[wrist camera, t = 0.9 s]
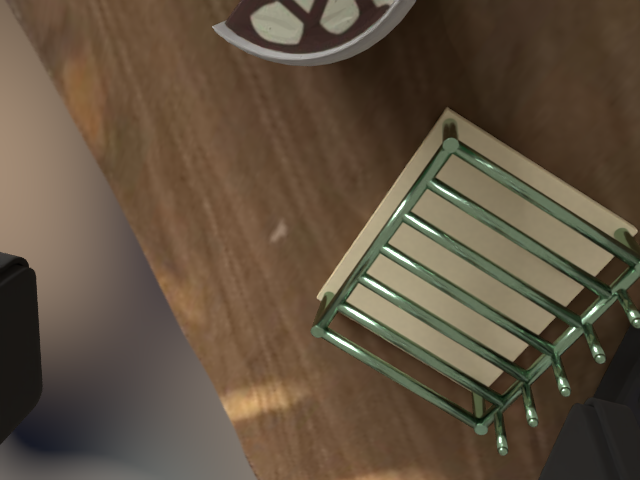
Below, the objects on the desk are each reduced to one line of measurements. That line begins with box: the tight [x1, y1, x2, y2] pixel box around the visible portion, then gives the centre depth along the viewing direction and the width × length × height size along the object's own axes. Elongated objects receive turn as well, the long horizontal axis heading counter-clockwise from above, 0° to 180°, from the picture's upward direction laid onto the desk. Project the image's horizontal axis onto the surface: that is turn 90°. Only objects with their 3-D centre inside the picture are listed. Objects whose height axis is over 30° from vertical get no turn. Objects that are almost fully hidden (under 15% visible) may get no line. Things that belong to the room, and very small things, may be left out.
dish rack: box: [311, 107, 640, 456], centre depth 36 cm, size 14×16×9 cm
